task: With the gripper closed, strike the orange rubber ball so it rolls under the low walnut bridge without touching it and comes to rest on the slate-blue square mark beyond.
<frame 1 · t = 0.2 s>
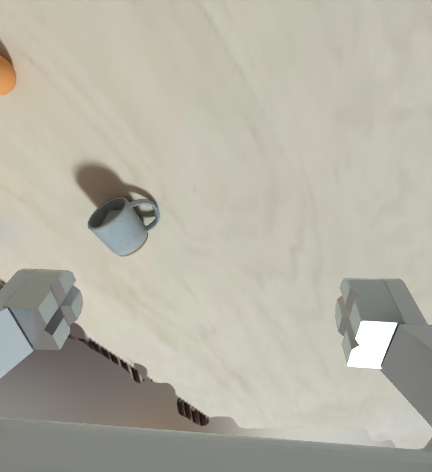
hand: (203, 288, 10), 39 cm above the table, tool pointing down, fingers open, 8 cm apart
ceramic mug: (132, 211, 58), on the table
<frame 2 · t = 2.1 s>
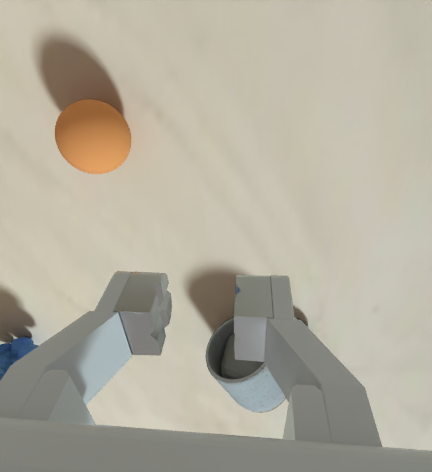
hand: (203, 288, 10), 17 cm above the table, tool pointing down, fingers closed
ceramic mug: (261, 331, 37), on the table
ball: (94, 137, 23), on the table
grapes: (22, 332, 42), on the table
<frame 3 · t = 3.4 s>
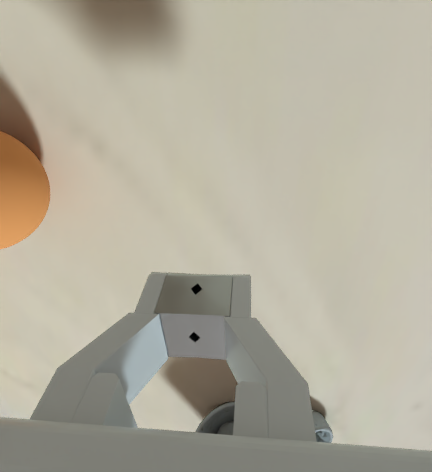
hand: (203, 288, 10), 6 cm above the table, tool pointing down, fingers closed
ceramic mug: (263, 416, 28), on the table
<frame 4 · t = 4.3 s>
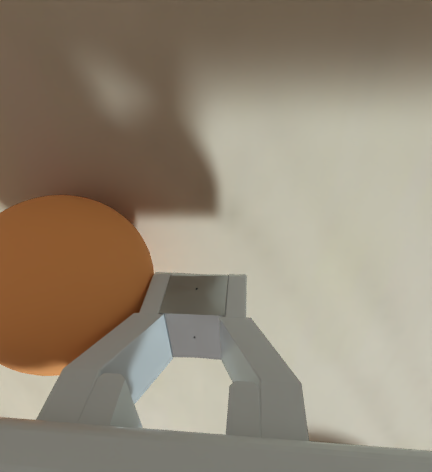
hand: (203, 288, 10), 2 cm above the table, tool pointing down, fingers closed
ball: (66, 281, 9), on the table, touching gripper
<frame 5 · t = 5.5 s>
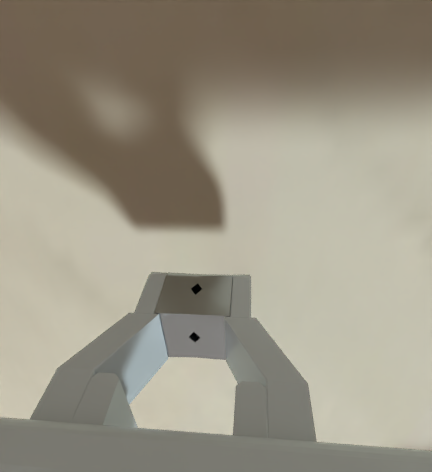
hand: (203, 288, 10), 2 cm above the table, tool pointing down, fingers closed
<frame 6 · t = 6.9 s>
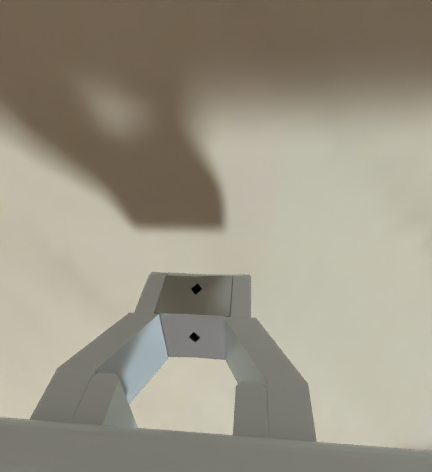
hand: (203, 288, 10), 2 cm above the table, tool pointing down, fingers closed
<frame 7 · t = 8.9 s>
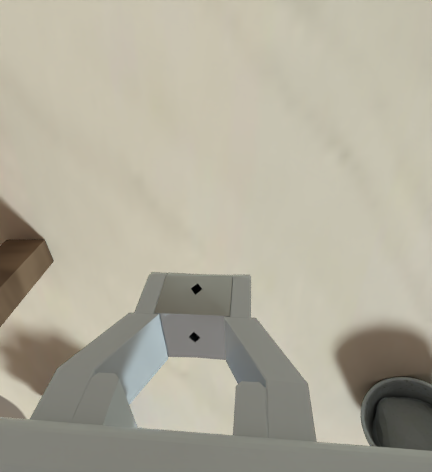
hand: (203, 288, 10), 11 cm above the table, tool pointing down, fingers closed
ceramic mug: (411, 393, 31), on the table
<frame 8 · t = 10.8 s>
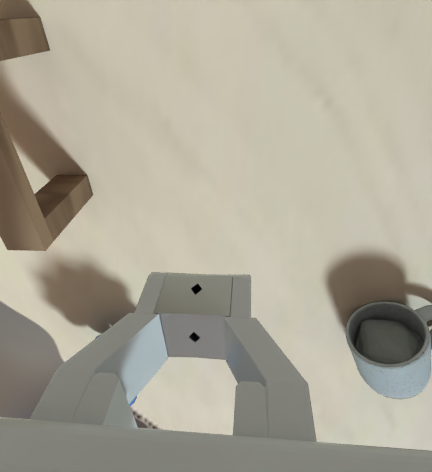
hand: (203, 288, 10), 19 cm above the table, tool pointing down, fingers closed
bridge: (53, 119, 27), on the table
ceramic mug: (389, 318, 37), on the table
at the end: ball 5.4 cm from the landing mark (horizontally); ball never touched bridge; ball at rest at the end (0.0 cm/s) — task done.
